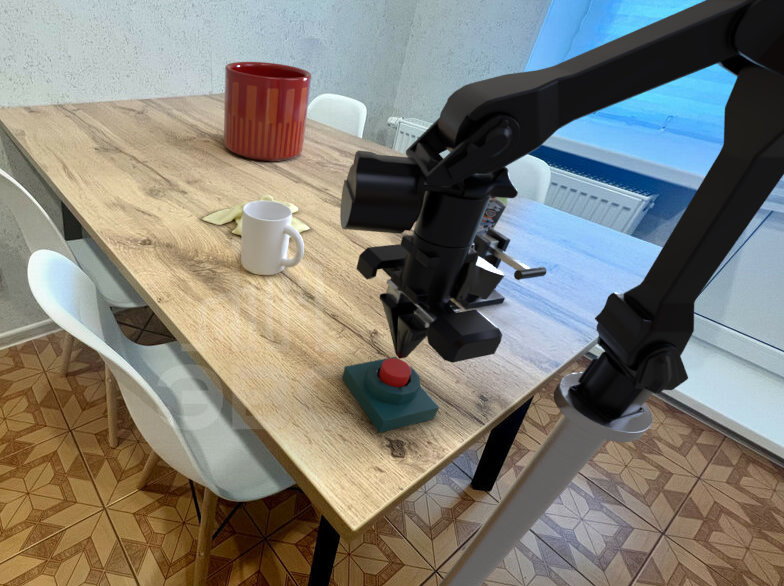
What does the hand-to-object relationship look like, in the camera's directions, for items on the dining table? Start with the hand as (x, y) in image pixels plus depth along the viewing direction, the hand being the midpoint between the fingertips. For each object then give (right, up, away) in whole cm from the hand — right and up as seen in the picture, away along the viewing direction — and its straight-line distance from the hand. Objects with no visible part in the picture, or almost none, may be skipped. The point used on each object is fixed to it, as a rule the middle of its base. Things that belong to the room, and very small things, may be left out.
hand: (401, 356), depth 56 cm
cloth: (-19, +29, +42) cm, 55 cm away
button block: (-1, -5, +5) cm, 7 cm away
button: (0, -3, +2) cm, 3 cm away
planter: (-18, +62, +80) cm, 103 cm away
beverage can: (+26, +24, +42) cm, 55 cm away
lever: (+22, +15, +19) cm, 33 cm away
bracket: (+19, +12, +28) cm, 36 cm away
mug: (-16, +16, +28) cm, 36 cm away
